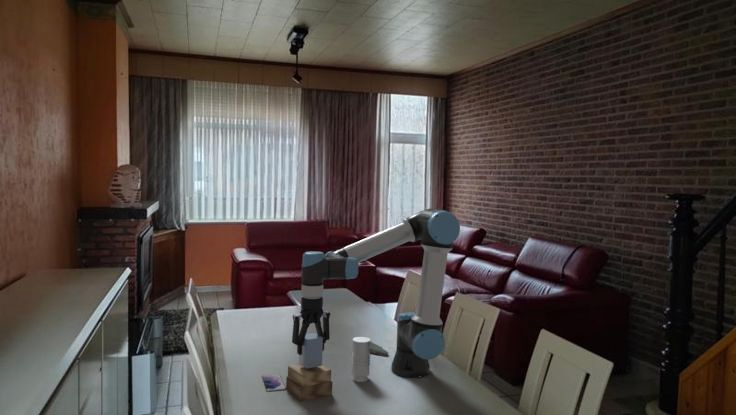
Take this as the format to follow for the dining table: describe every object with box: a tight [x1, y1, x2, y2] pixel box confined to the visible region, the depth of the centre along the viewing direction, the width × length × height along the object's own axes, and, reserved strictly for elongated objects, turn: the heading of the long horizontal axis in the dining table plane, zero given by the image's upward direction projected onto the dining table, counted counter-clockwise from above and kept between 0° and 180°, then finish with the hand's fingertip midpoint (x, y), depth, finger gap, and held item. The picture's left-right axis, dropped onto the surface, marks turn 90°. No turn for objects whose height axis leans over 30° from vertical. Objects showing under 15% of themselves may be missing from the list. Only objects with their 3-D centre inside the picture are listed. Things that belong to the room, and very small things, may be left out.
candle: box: [351, 336, 371, 383], centre depth 198 cm, size 7×7×15 cm
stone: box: [369, 341, 389, 357], centre depth 231 cm, size 17×3×10 cm
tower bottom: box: [285, 375, 333, 403], centre depth 185 cm, size 12×12×5 cm
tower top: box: [287, 363, 332, 388], centre depth 185 cm, size 11×11×4 cm
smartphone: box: [261, 373, 287, 393], centre depth 192 cm, size 7×1×15 cm
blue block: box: [299, 332, 323, 369], centre depth 185 cm, size 6×6×10 cm
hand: (310, 361), depth 185 cm, fingers closed on blue block, 6 cm apart
